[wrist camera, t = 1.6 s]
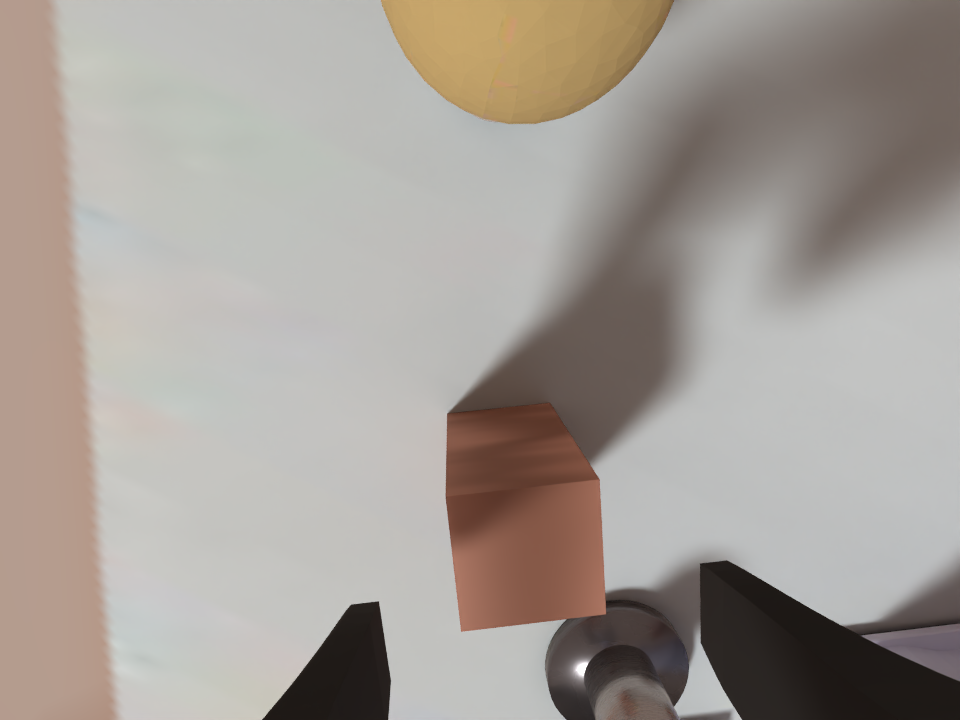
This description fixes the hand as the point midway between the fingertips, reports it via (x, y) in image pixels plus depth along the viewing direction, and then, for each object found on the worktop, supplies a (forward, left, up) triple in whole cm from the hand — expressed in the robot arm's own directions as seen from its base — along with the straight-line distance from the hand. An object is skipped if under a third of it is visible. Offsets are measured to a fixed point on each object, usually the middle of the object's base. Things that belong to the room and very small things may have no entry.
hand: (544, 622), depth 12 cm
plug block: (0, 0, -10) cm, 10 cm away
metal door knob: (-4, +10, -9) cm, 14 cm away
